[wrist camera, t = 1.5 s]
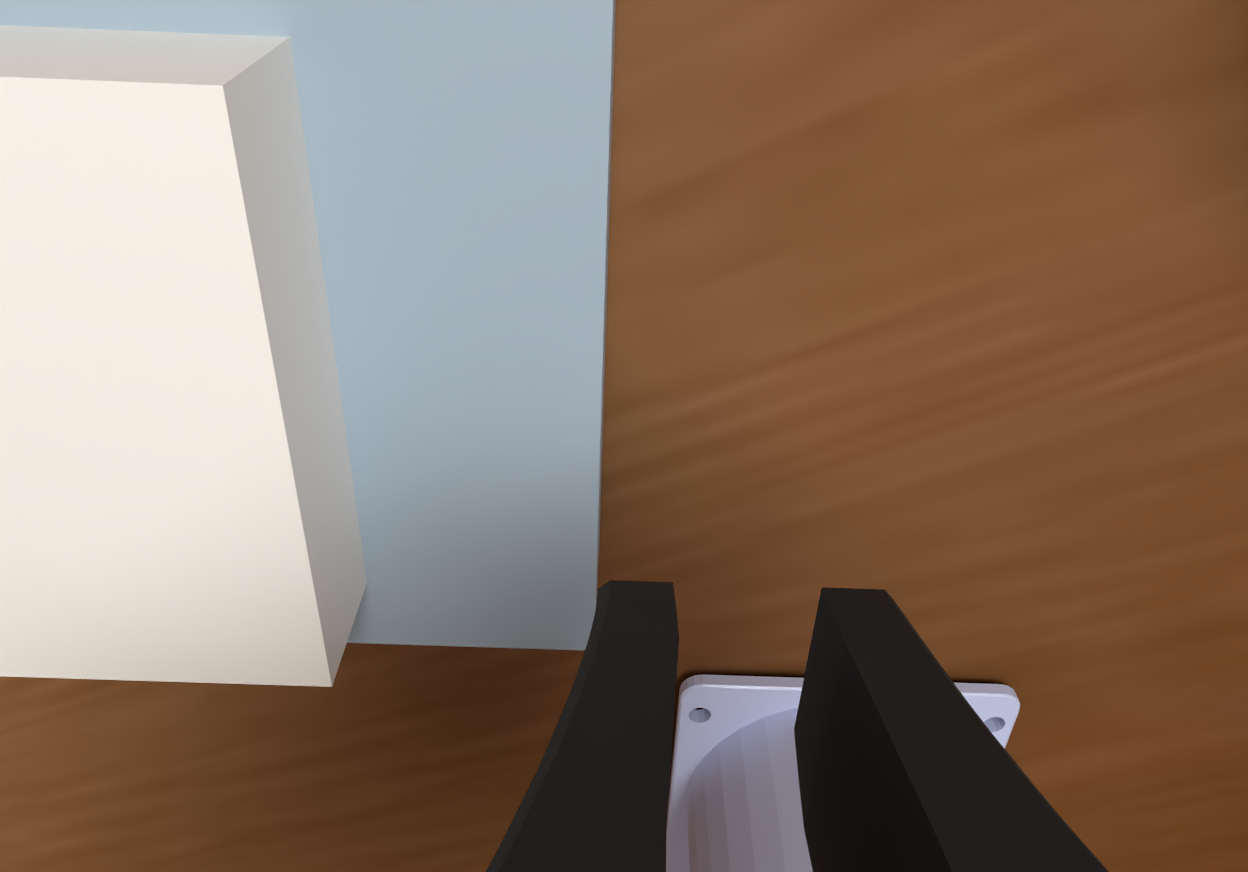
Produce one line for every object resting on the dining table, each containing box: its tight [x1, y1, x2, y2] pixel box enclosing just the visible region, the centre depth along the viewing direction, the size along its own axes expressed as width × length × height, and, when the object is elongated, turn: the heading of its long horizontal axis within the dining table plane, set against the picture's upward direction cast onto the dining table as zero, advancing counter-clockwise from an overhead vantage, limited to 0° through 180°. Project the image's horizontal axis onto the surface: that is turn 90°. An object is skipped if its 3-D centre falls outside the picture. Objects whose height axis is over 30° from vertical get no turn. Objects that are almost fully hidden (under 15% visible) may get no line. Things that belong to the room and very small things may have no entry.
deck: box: [0, 0, 616, 650], centre depth 16 cm, size 12×17×4 cm
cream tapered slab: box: [0, 25, 367, 687], centre depth 14 cm, size 9×6×2 cm, turn 178°
